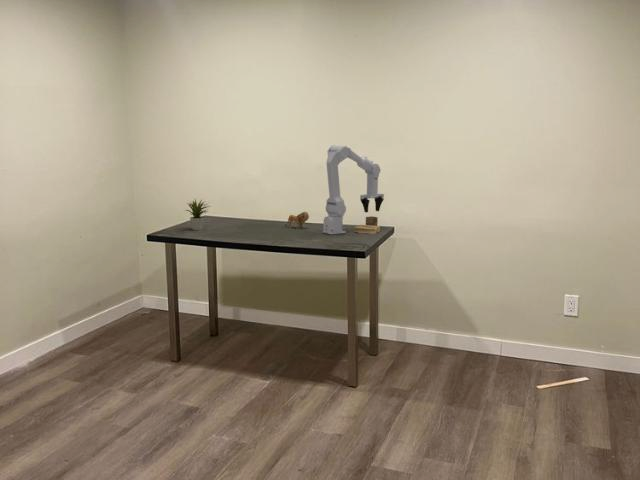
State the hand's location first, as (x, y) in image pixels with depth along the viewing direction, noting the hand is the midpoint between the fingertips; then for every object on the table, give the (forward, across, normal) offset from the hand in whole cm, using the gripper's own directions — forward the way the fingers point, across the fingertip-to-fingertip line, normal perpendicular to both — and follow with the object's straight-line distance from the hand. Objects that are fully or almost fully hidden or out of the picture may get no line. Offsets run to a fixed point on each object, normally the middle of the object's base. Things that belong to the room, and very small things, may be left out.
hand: (371, 211), depth 320 cm
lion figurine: (+9, -33, +22) cm, 41 cm away
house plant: (+9, -81, +44) cm, 93 cm away
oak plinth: (+9, -9, -8) cm, 15 cm away
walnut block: (+9, 0, 0) cm, 9 cm away
